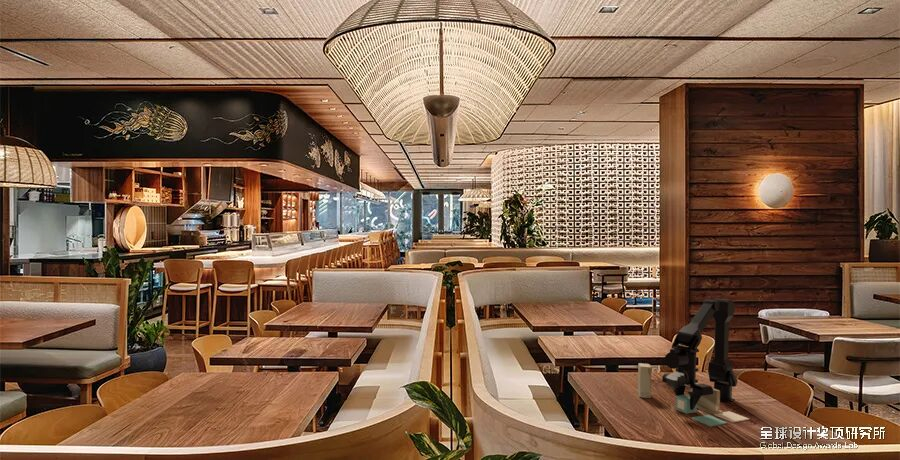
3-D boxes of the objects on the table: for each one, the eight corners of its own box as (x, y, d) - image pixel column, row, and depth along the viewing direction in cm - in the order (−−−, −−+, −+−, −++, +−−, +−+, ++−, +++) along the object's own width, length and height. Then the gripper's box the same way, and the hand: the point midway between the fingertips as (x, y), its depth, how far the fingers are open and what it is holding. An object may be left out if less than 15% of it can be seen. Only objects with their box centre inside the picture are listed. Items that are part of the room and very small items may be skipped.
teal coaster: (707, 415, 198) (707, 414, 198) (727, 423, 191) (727, 422, 191) (691, 418, 195) (691, 417, 195) (710, 426, 187) (710, 425, 187)
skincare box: (651, 398, 216) (652, 367, 216) (639, 397, 217) (640, 366, 217) (648, 393, 222) (649, 363, 222) (637, 392, 223) (638, 362, 223)
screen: (693, 402, 212) (694, 380, 212) (722, 414, 200) (723, 390, 200) (685, 404, 211) (686, 381, 211) (714, 415, 199) (715, 391, 199)
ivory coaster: (729, 412, 203) (729, 411, 203) (749, 419, 195) (749, 418, 195) (713, 414, 199) (713, 413, 199) (733, 422, 192) (733, 421, 192)
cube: (685, 407, 206) (685, 394, 206) (696, 412, 202) (696, 398, 202) (675, 409, 204) (675, 395, 204) (685, 413, 200) (686, 399, 200)
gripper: (651, 360, 208) (650, 401, 208) (691, 373, 191) (690, 418, 191) (673, 358, 213) (672, 398, 213) (714, 370, 196) (713, 414, 196)
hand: (686, 407), depth 203 cm, fingers closed on cube, 5 cm apart
